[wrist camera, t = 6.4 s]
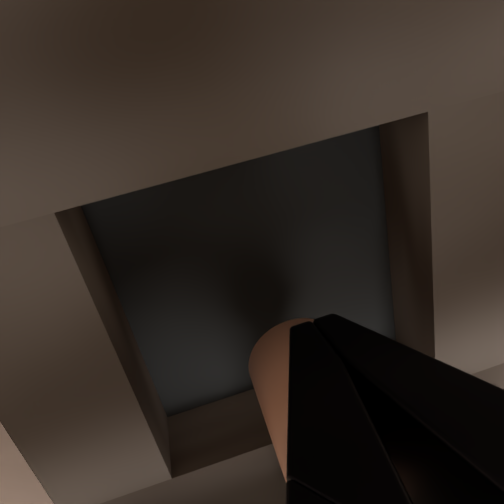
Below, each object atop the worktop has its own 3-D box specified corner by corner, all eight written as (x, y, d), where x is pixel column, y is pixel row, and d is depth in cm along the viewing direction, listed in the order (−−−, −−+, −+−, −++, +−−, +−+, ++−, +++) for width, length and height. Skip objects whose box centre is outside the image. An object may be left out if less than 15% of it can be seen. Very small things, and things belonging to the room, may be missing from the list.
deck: (-270, -170, 7) (-449, -267, 5) (481, -290, 9) (594, -406, 7) (235, 728, 24) (245, 797, 22) (465, 632, 26) (496, 687, 24)
